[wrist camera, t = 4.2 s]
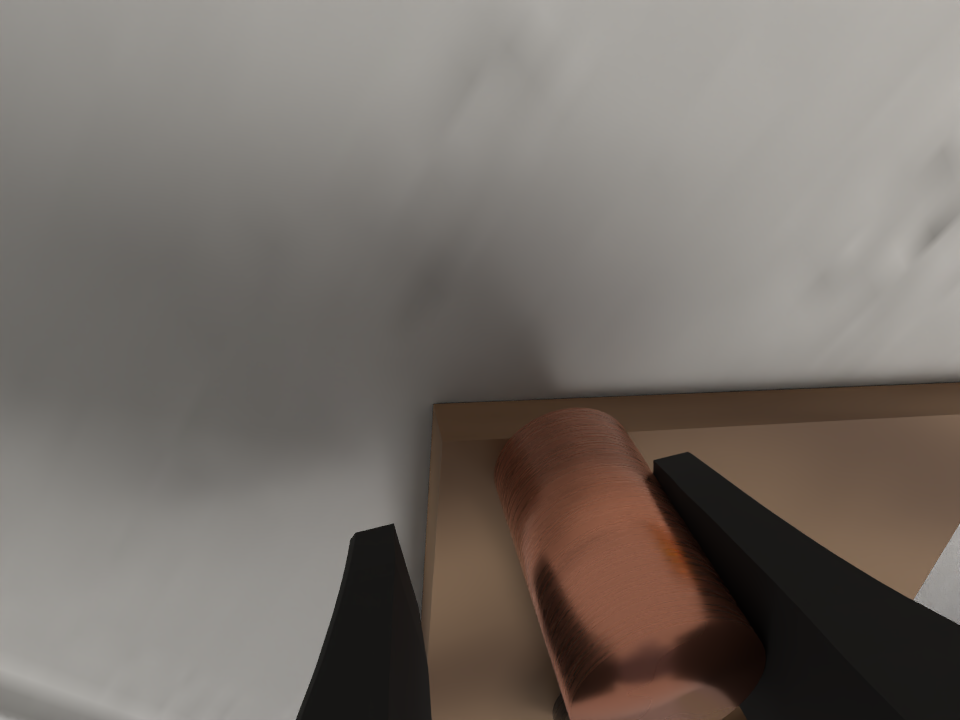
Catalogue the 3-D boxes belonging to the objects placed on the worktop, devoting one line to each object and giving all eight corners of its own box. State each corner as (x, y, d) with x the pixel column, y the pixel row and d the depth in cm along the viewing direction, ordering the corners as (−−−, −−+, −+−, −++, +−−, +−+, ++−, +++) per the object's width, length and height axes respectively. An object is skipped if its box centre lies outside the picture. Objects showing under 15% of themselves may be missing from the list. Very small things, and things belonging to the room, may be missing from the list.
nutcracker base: (781, 744, 23) (846, 856, 20) (410, 807, 20) (423, 947, 17) (982, 381, 15) (1132, 476, 12) (433, 403, 13) (463, 531, 10)
